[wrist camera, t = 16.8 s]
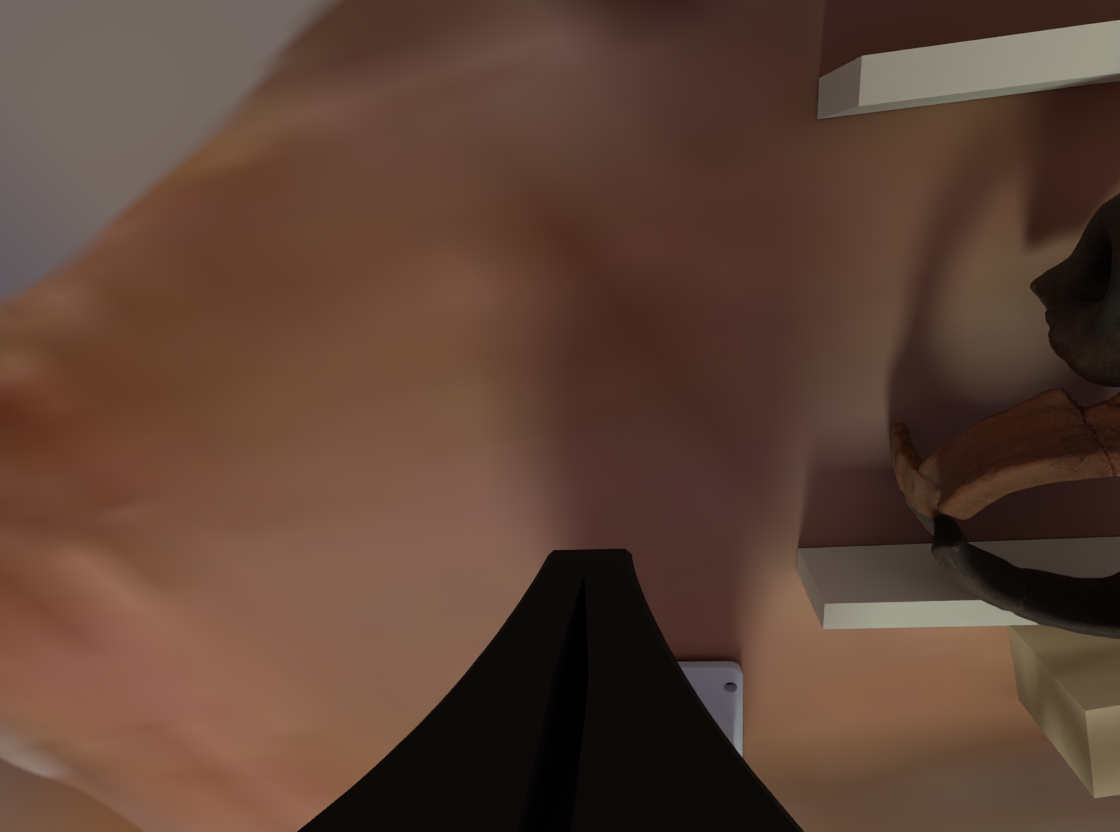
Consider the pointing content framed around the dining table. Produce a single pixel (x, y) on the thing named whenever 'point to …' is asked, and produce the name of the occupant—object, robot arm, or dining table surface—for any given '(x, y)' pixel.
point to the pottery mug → (1035, 447)
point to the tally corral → (917, 578)
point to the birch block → (1073, 698)
